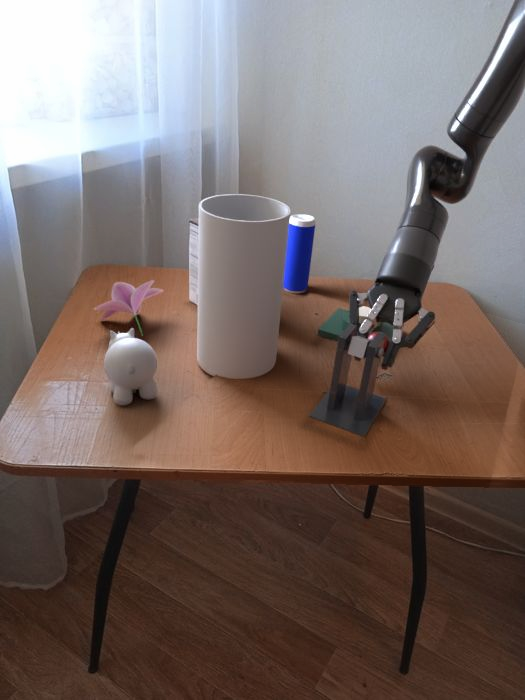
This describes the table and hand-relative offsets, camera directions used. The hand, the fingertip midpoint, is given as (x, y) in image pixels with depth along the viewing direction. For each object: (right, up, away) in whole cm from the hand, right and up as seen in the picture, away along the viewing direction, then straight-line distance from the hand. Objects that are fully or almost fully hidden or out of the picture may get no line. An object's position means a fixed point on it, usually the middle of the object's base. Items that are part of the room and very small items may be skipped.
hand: (370, 363), depth 84 cm
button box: (+1, +4, +15) cm, 16 cm away
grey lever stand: (-4, -7, -4) cm, 9 cm away
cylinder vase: (-20, 0, +6) cm, 21 cm away
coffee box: (-25, +11, +24) cm, 36 cm away
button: (+1, +7, +13) cm, 15 cm away
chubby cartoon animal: (-36, -3, -1) cm, 36 cm away
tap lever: (-1, +1, -4) cm, 4 cm away
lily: (-39, +6, +13) cm, 42 cm away
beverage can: (-10, +14, +31) cm, 36 cm away
